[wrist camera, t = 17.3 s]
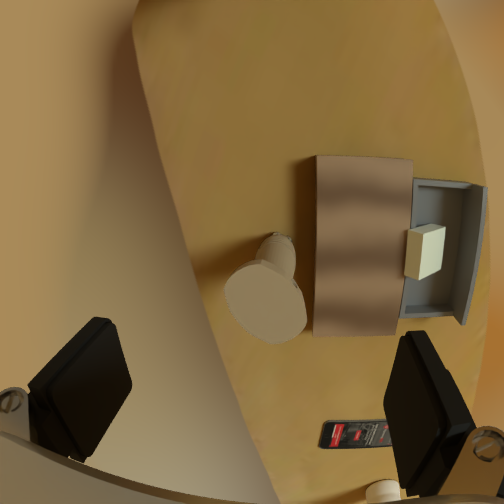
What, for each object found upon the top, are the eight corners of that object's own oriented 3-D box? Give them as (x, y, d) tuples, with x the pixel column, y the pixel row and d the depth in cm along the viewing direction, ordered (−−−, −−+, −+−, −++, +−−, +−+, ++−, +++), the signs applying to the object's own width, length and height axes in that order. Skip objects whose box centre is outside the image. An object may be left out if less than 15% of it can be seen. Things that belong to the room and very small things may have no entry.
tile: (408, 229, 31) (423, 234, 29) (431, 223, 33) (445, 226, 31) (404, 274, 32) (418, 280, 30) (427, 264, 34) (440, 269, 33)
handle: (278, 209, 35) (264, 251, 21) (312, 255, 36) (320, 321, 22) (244, 235, 37) (210, 290, 23) (278, 278, 38) (266, 353, 24)
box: (405, 176, 32) (422, 181, 27) (466, 181, 31) (487, 187, 26) (393, 308, 37) (404, 329, 32) (449, 306, 36) (465, 325, 31)
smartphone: (325, 421, 43) (414, 418, 42) (325, 418, 44) (414, 415, 42) (318, 449, 46) (401, 445, 44) (318, 445, 46) (401, 442, 44)
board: (315, 155, 33) (316, 155, 30) (403, 158, 32) (412, 159, 29) (311, 323, 39) (312, 336, 36) (389, 322, 38) (395, 335, 35)
